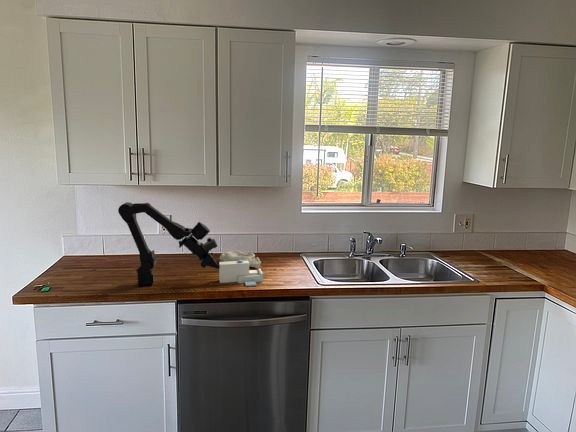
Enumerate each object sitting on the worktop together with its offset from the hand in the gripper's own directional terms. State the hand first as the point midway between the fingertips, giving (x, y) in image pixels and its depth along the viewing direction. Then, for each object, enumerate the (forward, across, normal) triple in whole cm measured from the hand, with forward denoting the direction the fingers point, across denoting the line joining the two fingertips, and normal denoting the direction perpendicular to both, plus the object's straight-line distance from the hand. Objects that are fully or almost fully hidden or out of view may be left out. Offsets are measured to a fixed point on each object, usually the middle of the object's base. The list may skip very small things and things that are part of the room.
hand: (218, 268), depth 201 cm
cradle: (+15, 0, -5) cm, 16 cm away
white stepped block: (+11, 0, -2) cm, 11 cm away
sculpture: (+14, +25, -4) cm, 29 cm away
